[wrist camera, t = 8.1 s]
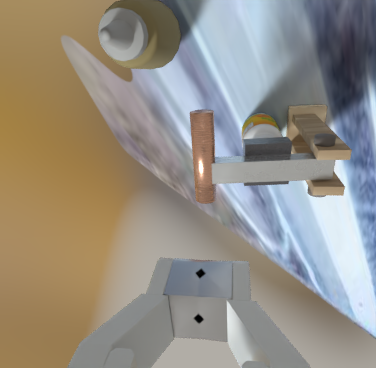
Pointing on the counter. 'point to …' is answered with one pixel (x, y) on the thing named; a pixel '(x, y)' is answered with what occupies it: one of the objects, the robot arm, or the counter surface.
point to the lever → (248, 161)
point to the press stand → (316, 144)
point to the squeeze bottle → (140, 33)
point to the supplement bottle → (260, 127)
